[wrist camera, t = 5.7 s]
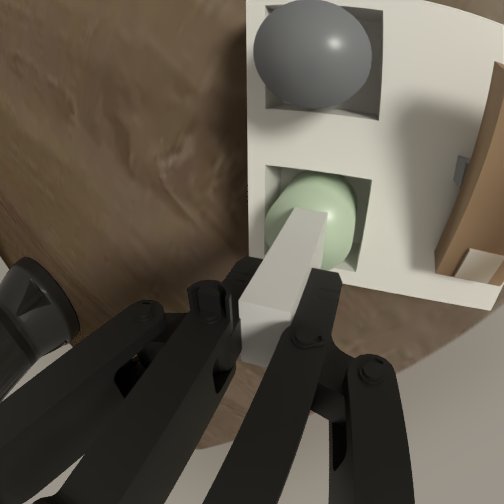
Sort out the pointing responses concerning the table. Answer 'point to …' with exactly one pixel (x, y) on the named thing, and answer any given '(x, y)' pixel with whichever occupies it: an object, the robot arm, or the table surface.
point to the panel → (384, 141)
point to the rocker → (479, 202)
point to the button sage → (319, 199)
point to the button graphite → (312, 53)
